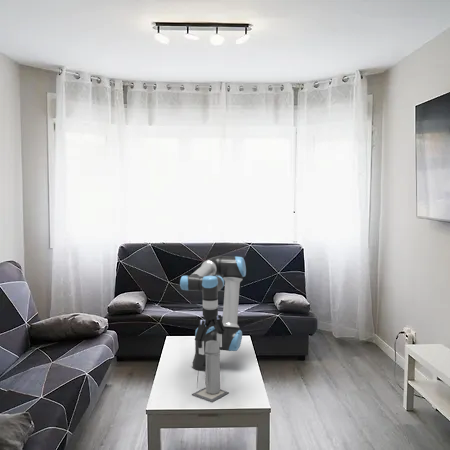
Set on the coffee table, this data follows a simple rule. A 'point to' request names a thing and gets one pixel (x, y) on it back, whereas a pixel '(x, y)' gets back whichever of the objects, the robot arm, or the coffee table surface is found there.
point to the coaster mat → (209, 395)
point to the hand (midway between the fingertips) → (210, 350)
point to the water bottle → (212, 367)
